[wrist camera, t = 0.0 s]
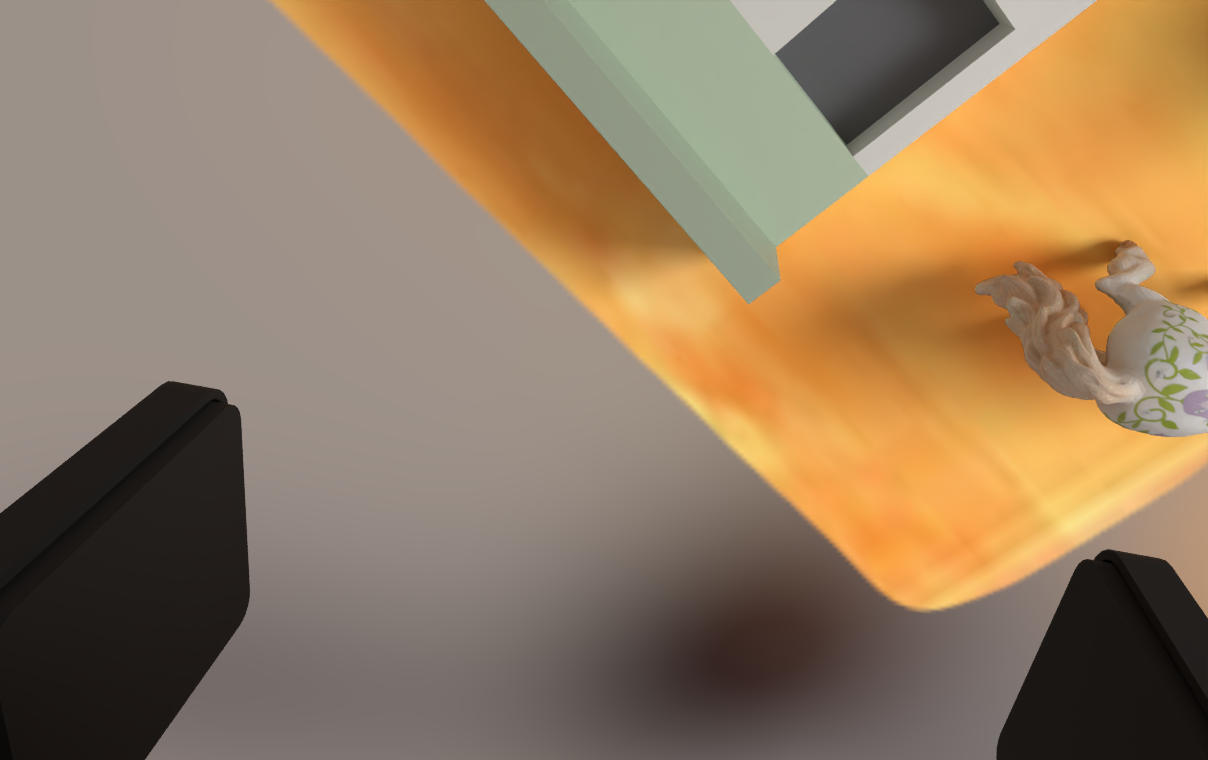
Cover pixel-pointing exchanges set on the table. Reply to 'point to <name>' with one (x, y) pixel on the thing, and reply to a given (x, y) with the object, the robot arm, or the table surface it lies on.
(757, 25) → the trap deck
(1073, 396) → the unicorn figurine
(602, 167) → the table surface
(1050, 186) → the table surface
